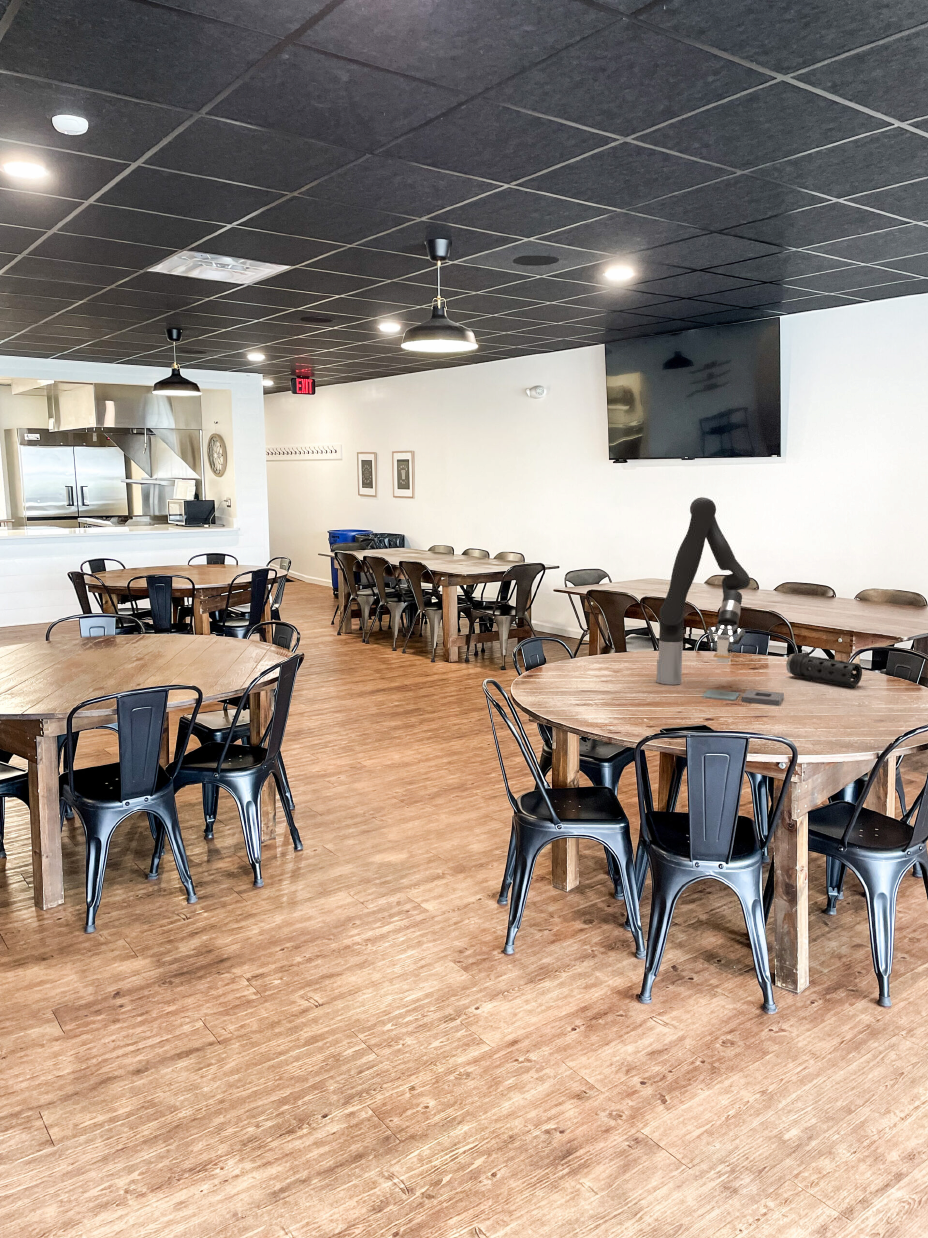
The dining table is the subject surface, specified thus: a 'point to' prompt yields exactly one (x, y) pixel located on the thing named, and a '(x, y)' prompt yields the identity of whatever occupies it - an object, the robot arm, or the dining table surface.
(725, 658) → the plug
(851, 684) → the muzzle brake
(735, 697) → the mat
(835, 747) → the dining table surface
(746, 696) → the socket box
